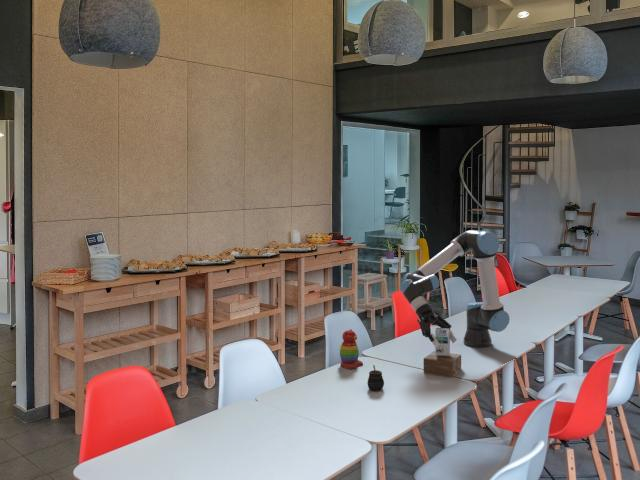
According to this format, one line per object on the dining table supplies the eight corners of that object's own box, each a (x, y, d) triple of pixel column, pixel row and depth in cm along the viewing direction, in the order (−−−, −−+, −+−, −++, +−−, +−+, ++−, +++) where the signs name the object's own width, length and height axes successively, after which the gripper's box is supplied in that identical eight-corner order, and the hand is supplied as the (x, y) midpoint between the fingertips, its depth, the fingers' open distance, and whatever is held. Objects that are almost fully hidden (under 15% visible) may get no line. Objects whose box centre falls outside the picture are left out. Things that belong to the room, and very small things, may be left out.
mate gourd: (370, 393, 263) (370, 370, 262) (364, 387, 270) (364, 365, 269) (386, 391, 265) (385, 368, 264) (380, 386, 272) (379, 364, 271)
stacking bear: (352, 369, 296) (351, 334, 294) (335, 366, 302) (334, 331, 300) (364, 364, 304) (363, 329, 303) (347, 361, 311) (347, 326, 309)
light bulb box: (449, 356, 284) (449, 333, 283) (435, 355, 286) (434, 333, 285) (449, 349, 295) (449, 327, 294) (435, 349, 296) (435, 327, 295)
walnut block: (433, 365, 301) (433, 351, 300) (461, 368, 294) (461, 354, 293) (423, 373, 289) (423, 358, 288) (452, 377, 282) (452, 362, 281)
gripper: (433, 308, 308) (457, 343, 298) (400, 315, 292) (425, 353, 282) (441, 299, 304) (466, 334, 293) (409, 306, 288) (434, 344, 278)
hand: (446, 344), depth 288 cm, fingers closed on light bulb box, 12 cm apart
